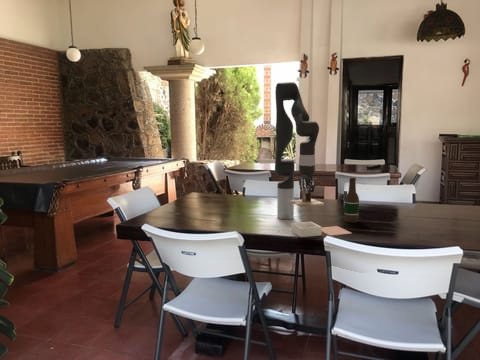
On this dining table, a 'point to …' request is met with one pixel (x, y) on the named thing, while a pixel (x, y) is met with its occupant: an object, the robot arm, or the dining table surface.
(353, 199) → the beer bottle
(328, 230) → the mat
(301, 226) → the beige square tray
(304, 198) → the lid
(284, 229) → the dining table surface
